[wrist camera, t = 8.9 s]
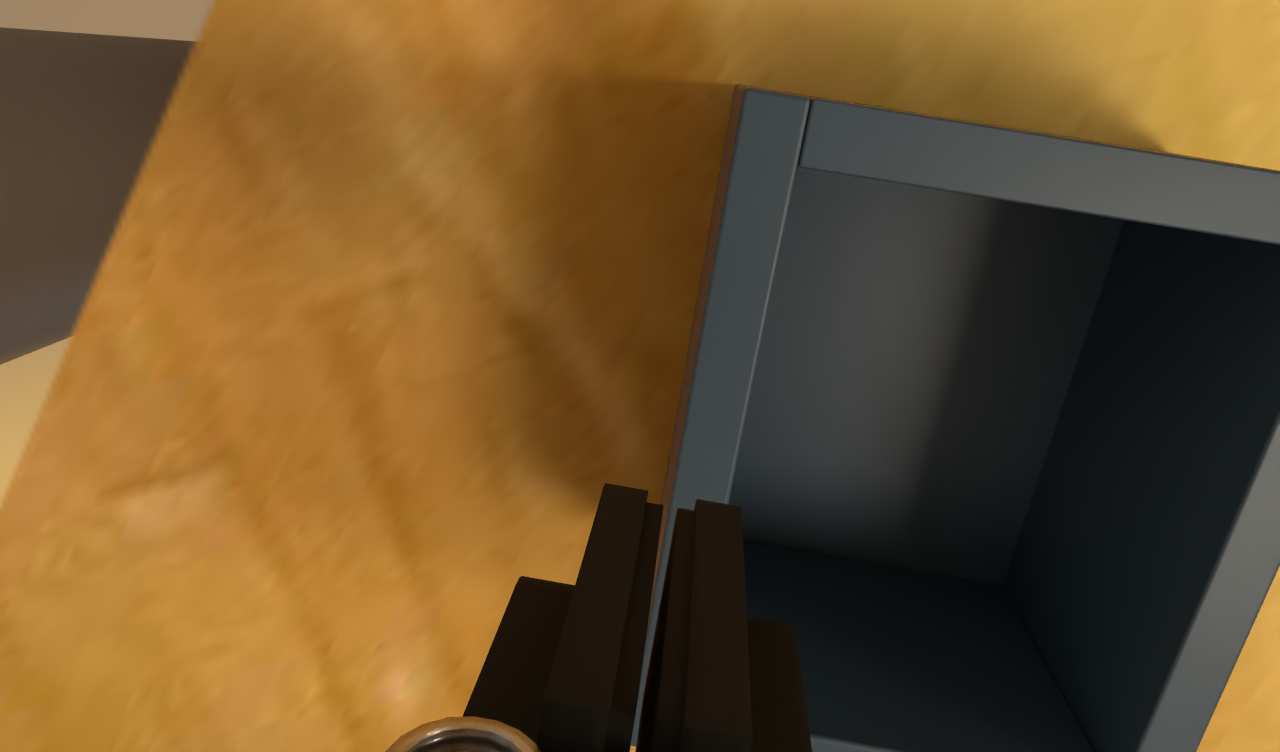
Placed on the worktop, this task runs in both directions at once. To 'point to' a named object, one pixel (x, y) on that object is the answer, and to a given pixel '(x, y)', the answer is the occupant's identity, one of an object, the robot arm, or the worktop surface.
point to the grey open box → (986, 423)
